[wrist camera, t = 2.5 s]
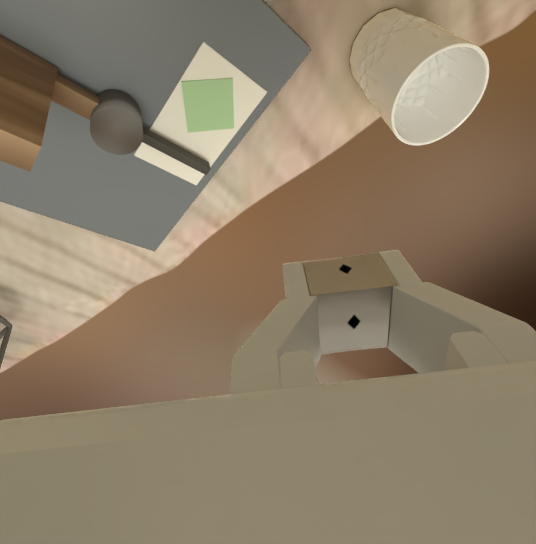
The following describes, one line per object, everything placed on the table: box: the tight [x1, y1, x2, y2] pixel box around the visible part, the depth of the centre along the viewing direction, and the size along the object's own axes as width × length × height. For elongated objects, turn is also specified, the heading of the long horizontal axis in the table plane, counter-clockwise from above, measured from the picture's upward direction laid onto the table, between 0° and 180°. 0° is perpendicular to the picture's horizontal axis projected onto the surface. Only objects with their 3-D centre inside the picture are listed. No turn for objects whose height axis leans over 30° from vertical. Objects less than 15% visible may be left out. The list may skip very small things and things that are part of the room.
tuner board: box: [0, 0, 311, 251], centre depth 32 cm, size 28×22×1 cm
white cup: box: [349, 8, 489, 145], centre depth 32 cm, size 8×8×10 cm
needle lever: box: [0, 35, 211, 175], centre depth 28 cm, size 4×21×11 cm, turn 50°
